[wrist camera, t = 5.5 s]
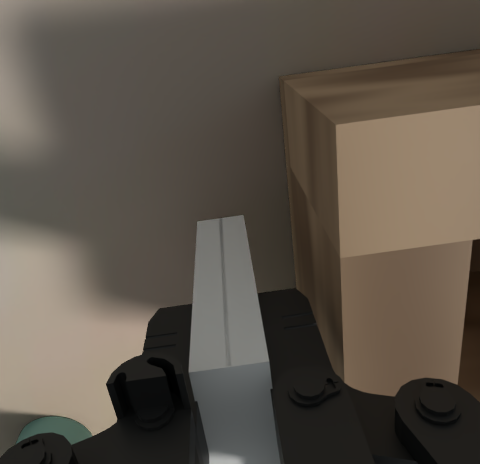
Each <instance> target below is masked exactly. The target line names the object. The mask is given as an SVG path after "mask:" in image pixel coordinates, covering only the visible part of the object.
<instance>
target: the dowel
mask: <svg viewBox="0 0 480 464" xmlns="http://www.w3.org/2000/svg"><path fill="white" fill-rule="evenodd" d="M50 432H53V433H57V434H60V435H64V437H65V438H66V439H67V440H68V441H69V442H70V443H71V445H72V444H75V443H77V442H80V441H82V440H85V439H87V438H89V437H92V434H91V433H90V432H89V430H88V429H87V428H86V427H84V426H83V425H82V424H80V423H78V422H76V421H74V420H72V419H68V418H64V417H57V416H51V417H43V418H39V419H36V420H34V421H32V422H30V423H29V424H27V425H26V426H25V427H24V428H23V430H22V431H21V433H20V435H19V438H18V440H17V442H16V444H17V443H19V442H20V441H22V440H23V439H26V438H28V437H31V436H34V435H36V434H41V433H50ZM16 444H15V445H16Z"/></svg>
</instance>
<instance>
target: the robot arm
mask: <svg viewBox="0 0 480 464" xmlns="http://www.w3.org/2000/svg"><path fill="white" fill-rule="evenodd" d="M143 350H144V352H143V353H142V355H140V356H136V357H134V358H132V359H130V360H128V361H126V362H124V363H122V364H121V365H120V366H119V367H118V368H117V369H116V370H115V371H114V372H113V373H112V374H111V376H110V377H109V379H108V381H107V383H106V386H107V389H108V392H109V395H110V398H111V401H112V404H113V407H114V410H115V413H116V416H117V423H115V424H114V425H112V426H111V427H110V428H108V429H107V430H105V431H103V432H101V433H99V434H97V435H94V436H92V437H89V438H87V439H85V440H82V441H80V442H77V443H75V444H72V445H71V443H70V442H69V441H68V440H67V439H66V438H65V437H64V435H60V434H57V433H53V432H50V433H41V434H36V435H34V436H31V437H28V438H26V439H23V440H22V441H20V442H19V443H17V444H16V445H14V446H13V447H11V448H10V449H8V450H7V451H6V452H5V453H4V454H3V456H2V457H1V458H0V464H480V402H479V401H478V400H477V399H476V398H475V397H474V396H472V395H471V394H470V393H469V392H467V391H466V390H464V389H463V388H461V387H460V386H459V385H457V384H454V383H451V382H449V381H446V380H443V379H436V378H420V379H415V380H411V381H409V382H408V383H406V384H404V385H403V386H401V387H400V389H399V391H398V392H397V394H396V395H395V396H386V395H378V394H371V393H366V392H362V391H359V390H357V389H354V388H352V387H350V386H349V385H347V384H346V383H344V382H343V381H342V379H341V378H340V376H338V375H337V374H335V372H334V370H333V368H332V365H331V362H330V360H329V357H328V354H327V351H326V348H325V345H324V343H323V340H322V337H321V334H320V331H319V328H318V326H317V323H316V320H315V317H314V315H313V311H312V308H311V306H310V303H309V300H308V298H307V297H306V296H304V295H303V294H302V293H301V292H300V291H299V290H297V289H296V288H293V289H286V290H278V291H271V292H264V293H257V289H256V283H255V278H254V272H253V266H252V261H251V255H250V249H249V243H248V238H247V232H246V226H245V221H244V215H240V216H232V217H225V218H218V219H211V220H204V221H197V235H196V252H195V270H194V287H193V304H188V305H181V306H174V307H167V308H160V309H158V311H157V312H156V313H155V315H154V316H153V317H152V318H151V320H150V321H149V322H148V327H147V332H146V340H145V343H144V348H143Z"/></svg>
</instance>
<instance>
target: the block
mask: <svg viewBox="0 0 480 464" xmlns="http://www.w3.org/2000/svg"><path fill="white" fill-rule="evenodd" d="M279 84H280V96H281V108H282V120H283V133H284V145H285V157H286V169H287V181H288V193H289V205H290V217H291V229H292V241H293V253H294V265H295V277H296V289H297V290H299V291H300V292H301V293H302V294H303V295H304V296H306V297H307V298H308V300H309V303H310V306H311V308H312V311H313V315H314V317H315V320H316V323H317V326H318V328H319V331H320V334H321V337H322V340H323V343H324V345H325V348H326V351H327V354H328V357H329V360H330V362H331V365H332V368H333V370H334V372H335V374H337V375H338V376H340V378H341V379H342V381H343V382H344V383H346V384H347V385H349V386H350V387H352V388H354V389H357V390H359V391H362V392H366V393H371V394H378V395H386V396H395V395H396V394H397V392H398V391H399V389H400V387H401V386H403V385H404V384H406V383H408V382H409V381H411V380H415V379H420V378H436V379H443V380H446V381H449V382H451V383H454V384H457V385H459V386H460V387H461V388H463V389H464V390H466V391H467V392H469V393H470V394H471V395H472V396H474V397H475V398H476V399H477V400H478V401H479V402H480V49H476V50H469V51H461V52H454V53H447V54H440V55H432V56H425V57H418V58H410V59H403V60H396V61H389V62H381V63H374V64H367V65H359V66H352V67H345V68H338V69H330V70H323V71H316V72H308V73H301V74H294V75H286V76H279Z"/></svg>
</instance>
